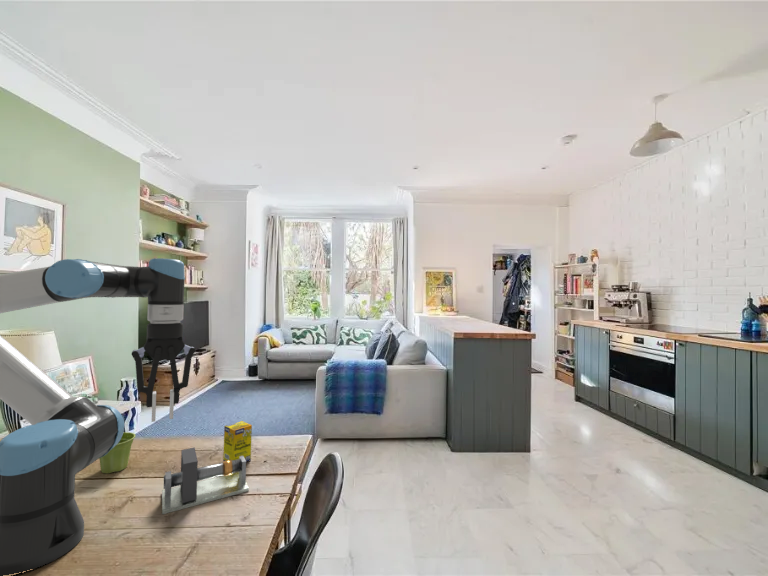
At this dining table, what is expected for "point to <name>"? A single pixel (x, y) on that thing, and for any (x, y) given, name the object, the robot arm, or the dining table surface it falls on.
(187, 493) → the grey slider block
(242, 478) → the pipe jig
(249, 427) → the supplement box
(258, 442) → the dining table surface
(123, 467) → the plant pot
